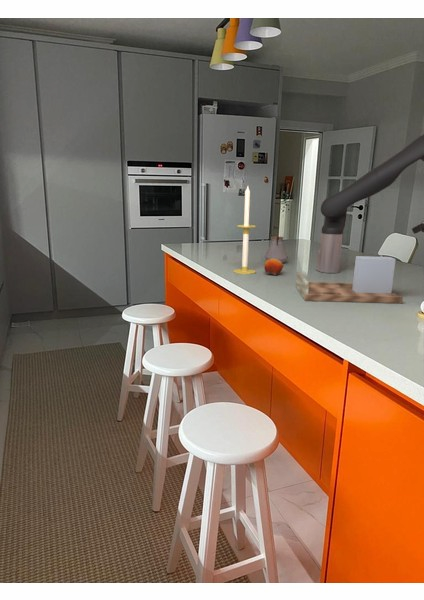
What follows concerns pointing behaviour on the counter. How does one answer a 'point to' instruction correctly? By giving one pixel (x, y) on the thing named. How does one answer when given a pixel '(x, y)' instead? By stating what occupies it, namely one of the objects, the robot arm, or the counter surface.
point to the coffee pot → (276, 250)
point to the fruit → (273, 266)
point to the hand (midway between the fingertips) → (417, 230)
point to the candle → (245, 236)
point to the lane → (340, 292)
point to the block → (373, 274)
